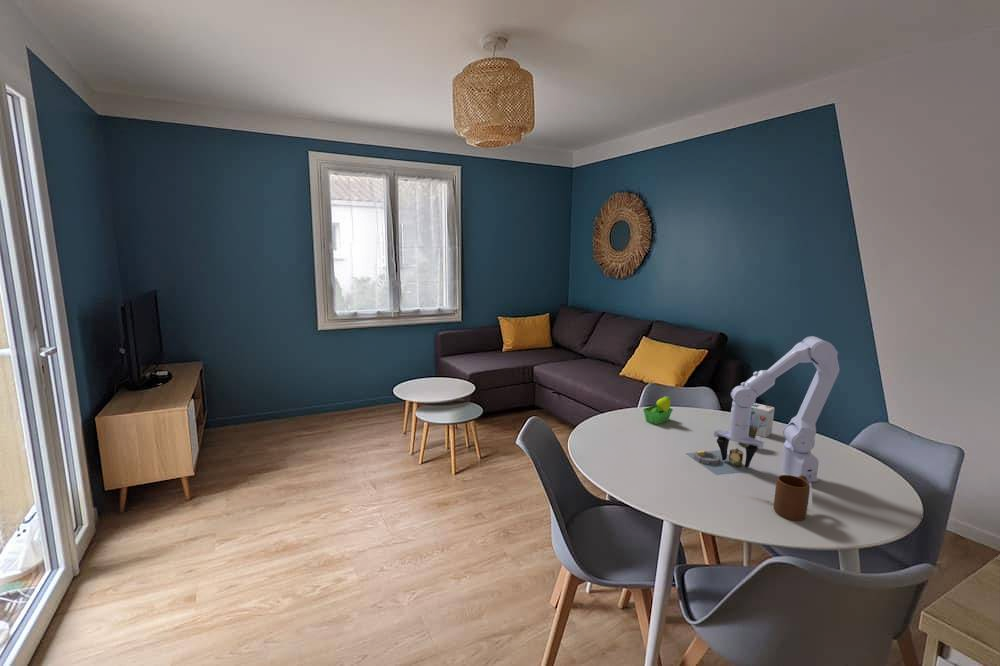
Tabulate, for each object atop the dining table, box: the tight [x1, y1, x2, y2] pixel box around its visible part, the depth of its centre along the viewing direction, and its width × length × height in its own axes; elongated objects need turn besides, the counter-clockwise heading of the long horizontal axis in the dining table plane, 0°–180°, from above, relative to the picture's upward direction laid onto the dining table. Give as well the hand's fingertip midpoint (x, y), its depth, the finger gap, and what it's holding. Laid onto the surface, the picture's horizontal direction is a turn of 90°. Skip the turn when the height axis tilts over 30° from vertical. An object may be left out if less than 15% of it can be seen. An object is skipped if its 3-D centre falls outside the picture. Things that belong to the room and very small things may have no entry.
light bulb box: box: [750, 402, 775, 438], centre depth 185 cm, size 11×7×11 cm, turn 42°
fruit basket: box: [642, 396, 674, 425], centre depth 195 cm, size 11×9×11 cm
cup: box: [737, 425, 758, 447], centre depth 171 cm, size 8×7×8 cm
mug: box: [773, 474, 811, 521], centre depth 128 cm, size 12×8×9 cm, turn 128°
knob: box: [728, 447, 744, 467], centre depth 154 cm, size 4×4×5 cm
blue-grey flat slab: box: [685, 449, 755, 476], centre depth 156 cm, size 16×14×2 cm
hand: (735, 462), depth 154 cm, fingers open, 6 cm apart
